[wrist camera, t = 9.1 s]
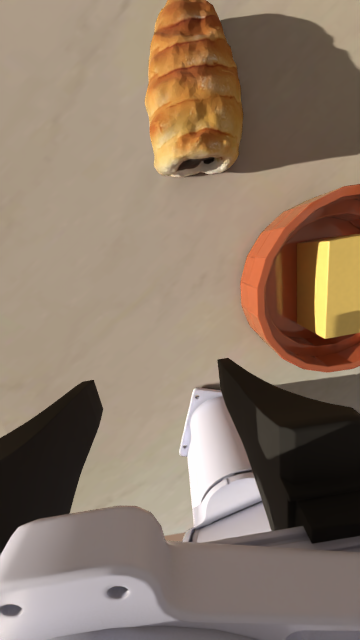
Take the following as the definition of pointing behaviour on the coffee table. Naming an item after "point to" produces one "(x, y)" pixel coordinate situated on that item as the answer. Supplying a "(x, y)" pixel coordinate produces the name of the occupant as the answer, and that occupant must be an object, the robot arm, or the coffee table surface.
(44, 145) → the coffee table surface
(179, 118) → the pastry
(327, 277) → the butter
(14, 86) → the coffee table surface
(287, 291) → the bowl
